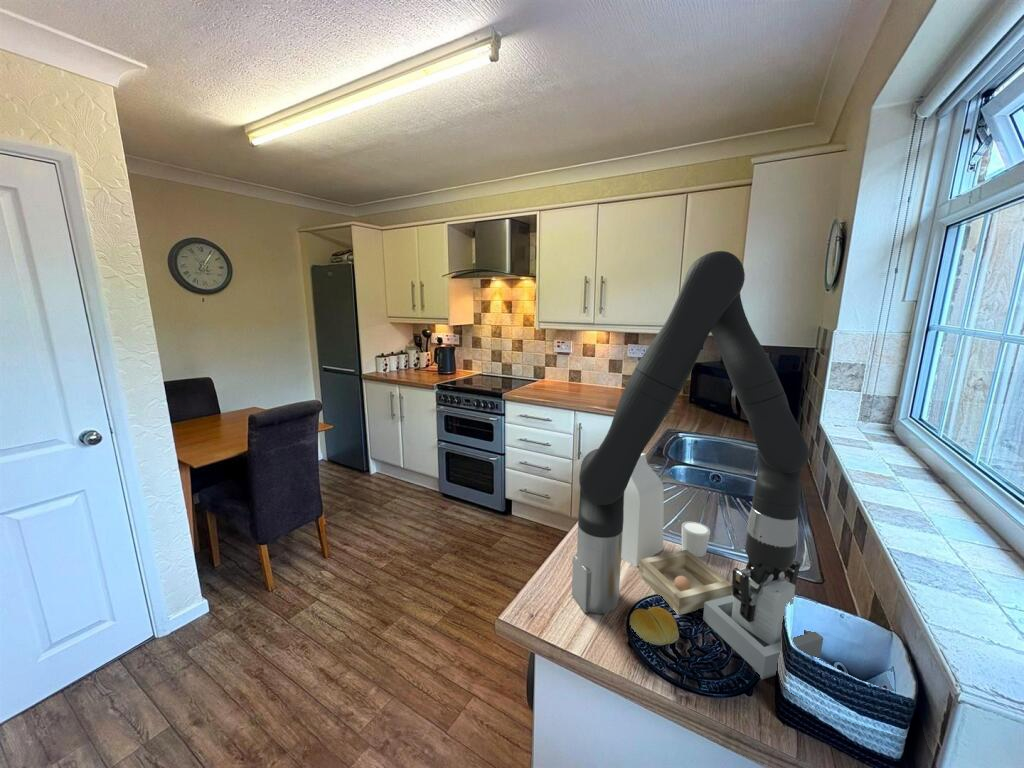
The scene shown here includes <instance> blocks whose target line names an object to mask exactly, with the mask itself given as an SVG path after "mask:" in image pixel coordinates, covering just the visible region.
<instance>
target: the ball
mask: <svg viewBox="0 0 1024 768" xmlns="http://www.w3.org/2000/svg"><path fill="white" fill-rule="evenodd" d="M674 585H675V587H676V588H677V589H679V590H680V591H685V590H689V589H690V588H691V584H690V581H689V580H688V579H687V578H686V577H684V576H678V577H676V578H675V580H674Z"/></svg>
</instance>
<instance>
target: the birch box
mask: <svg viewBox="0 0 1024 768" xmlns="http://www.w3.org/2000/svg"><path fill="white" fill-rule="evenodd" d="M637 572H638V576H639V577H640V578H641V579H642V581H644V582H645V583H646V584H647V586H649V588H651V589H652V591H653V592H655V594H657V596H659V595H660V596H662V597H663V599H664V600H665V601H666V602H667V603H668V604H669V606H670V607H671V608H672V609H673V610H674V611H675V612H676V613H675V612H674V611H673V610H672V609H671V608H670V607H669V606H668V607H669V608H670V609H671V610H672V611H673V612H674V613H675V614H676V615H677V616H681V615H686V614H688V613H692V611H693V612H697V611H699V610H698V609H700V608H703V607H704V603H705V602H707V601H711V600H715V599H719V598H722V597H726V596H730V595H732V583H731V582H730V581H728V580H727V579H725V578H724V577H723V576H722V575H720V574H719V573H718V572H716V571H715V570H714V569H712V568H711V567H710V566H709V565H707V564H706V563H705V562H704V561H702V560H701V559H700V558H699V557H696V556H694V555H693V554H692V553H691V552H689V551H688V550H679V551H673V552H670V553H665V554H659V555H654V556H652V557H649V558H644V559H640V560H639V566H638V571H637ZM678 576H684V577H686V578H687V579H688V580H689V581H690V584H691V588H690V589H689V590H685V591H680V590H679V589H677V588H676V587H675V585H674V580H675V578H676V577H678ZM660 596H659V597H660ZM663 599H662V600H663ZM664 600H663V601H664ZM665 601H664V602H665ZM696 610H697V611H696Z"/></svg>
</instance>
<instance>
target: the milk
mask: <svg viewBox="0 0 1024 768" xmlns="http://www.w3.org/2000/svg"><path fill="white" fill-rule="evenodd" d="M664 491H665V488H664V484H663V482H662V480H661V478H660V477H659V476H658V475H657V474H656V472H655V471H654V470H653V469H652V468H651V466H650V465H649V464H648V462H647V456H646V453H643V452H642V454H641V456H640V458H639V460H638V462H637V464H636V466H635V468H634V471H633V473H632V475H631V477H630V480H629V482H628V485H627V487H626V489H625V491H624V520H623V535H622V551H621V560H624V561H625V562H627V563H629V564H630V565H632V566H634V567H636V568H637V567H639V560H640V559H644V558H649V557H654V556H656V554H658V553H660V552H661V551H663V550H664V511H665V509H664V507H665V506H664V504H665V503H664V502H665V501H664V495H665V493H664Z"/></svg>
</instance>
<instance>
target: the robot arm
mask: <svg viewBox="0 0 1024 768" xmlns="http://www.w3.org/2000/svg"><path fill="white" fill-rule="evenodd" d="M745 277H746V275H745V268H744V266H743V263H742V262H741V260H740V258H738V256H736V255H735V254H733V253H732V252H729V251H723V250H716V251H712V252H708V253H706V254H703V256H700V257H699V258H697V259H696V260H695V261H693V263H692V264H691V265H690V266H689V268H688V270H687V272H686V275H685V278H684V281H683V283H682V286H681V288H680V291H679V293H678V296H677V298H676V300H675V303H674V305H673V307H672V309H671V311H670V313H669V315H668V318H667V319H666V321H665V323H664V324H663V326H662V327H661V329H659V331H658V333H657V334H656V336H655V337H654V339H652V341H651V343H650V344H649V345H648V347H647V349H646V350H645V352H644V353H643V354H642V356H641V358H640V360H639V361H638V363H637V364H636V365H635V368H634V370H633V371H632V373H631V375H630V378H628V381H627V382H626V384H625V387H624V389H623V391H622V393H621V396H620V398H619V401H618V402H617V403H618V404H617V406H616V410H615V411H614V416H613V418H612V421H611V424H610V427H609V429H608V431H607V434H606V435H605V437H604V439H603V441H602V442H601V443H600V445H599V447H598V448H595V449H592V450H591V451H589V452H588V453H587V454H586V455H585V456H584V458H583V460H582V462H581V464H580V469H579V477H578V480H579V481H578V483H579V488H580V489H579V500H578V501H579V503H578V515H577V517H578V518H577V519H578V520H577V541H576V543H577V544H576V545H577V546H576V548H577V549H576V554H574V555H573V556H572V576H571V577H572V580H571V596H573V598H574V600H575V602H577V604H578V606H579V608H580V609H581V610H582V612H584V613H585V614H586V613H591V614H592V613H593V614H598V615H605V613H609V612H611V611H614V609H616V608H617V607H618V605H619V601H620V599H619V598H620V583H621V582H620V581H621V569H622V568H621V564H622V559H621V551H622V535H623V520H624V491H625V489H626V487H627V485H628V482H629V480H630V477H631V475H632V473H633V471H634V468H635V466H636V464H637V462H638V460H639V458H640V456H641V454H642V453H643V452H644V450H645V448H646V447H647V445H648V444H649V442H650V441H651V439H652V438H653V437H654V436H655V434H656V432H657V431H658V429H659V427H660V426H661V424H662V423H663V421H664V420H665V418H666V417H667V415H668V413H669V412H670V410H671V409H672V407H673V405H674V404H675V403H676V400H677V399H678V397H679V396H680V394H681V392H682V390H683V388H684V387H685V385H686V382H687V381H688V379H689V377H690V375H691V373H692V370H693V368H694V367H695V365H696V362H697V360H698V357H699V355H700V353H701V351H702V348H703V345H704V344H705V342H706V340H707V339H708V336H709V334H710V333H711V336H712V338H713V340H714V342H715V344H716V347H717V348H718V352H719V353H720V356H721V359H722V361H723V364H724V366H725V370H726V373H727V375H728V378H729V379H730V383H731V384H732V388H733V390H734V393H735V395H736V397H737V399H738V402H739V405H740V407H741V409H742V410H743V412H744V415H745V417H746V419H747V421H748V424H749V426H750V427H749V428H750V430H751V433H752V436H753V439H754V442H755V445H756V448H757V467H756V470H757V471H756V479H755V482H754V483H755V484H754V488H753V493H752V500H751V501H752V502H751V507H750V512H749V515H748V520H747V528H746V529H747V530H746V538H745V544H744V550H745V553H746V555H747V558H748V561H747V564H746V566H745V567H746V568H745V569H742V568H741V569H742V570H740V569H739V568H738V567H734V568H733V569H732V580H731V581H732V583H731V584H732V593H731V595H733V596H734V597H735V598H737V599H738V600H739V601H740V602H741V606H740V607H741V608H740V615H741V616H742V617H743V618H744V619H745V620H747V621H748V622H753V620H754V612H755V603H756V601H757V599H758V597H759V596H761V595H762V594H763V588H764V587H765V586H768V584H769V583H771V581H775V580H778V581H779V582H782V581H785V580H787V578H788V579H789V580H788V582H790V583H792V584H794V585H795V586H796V584H797V579H798V576H799V572H800V568H801V563H799V562H798V561H797V560H795V554H796V548H797V547H796V546H797V539H798V532H799V521H798V520H799V512H800V505H801V499H802V498H801V494H802V493H801V485H800V477H801V470H802V469H803V468H804V467H805V466H806V465H807V463H808V462H809V458H810V448H809V446H808V443H807V442H806V438H805V437H804V435H803V434H802V431H801V429H800V427H799V425H798V423H797V421H796V419H795V417H794V415H793V413H792V411H791V408H790V405H789V401H788V398H787V394H786V392H785V389H784V387H783V385H782V383H781V381H780V378H779V375H778V373H777V371H776V369H775V366H774V365H773V363H772V361H771V359H770V357H769V356H768V354H767V352H766V351H765V348H763V346H762V344H761V342H760V341H759V340H758V337H756V334H755V332H754V331H753V329H752V326H751V324H750V322H749V321H748V318H747V315H746V312H745V310H744V306H743V301H742V299H741V291H742V289H743V287H744V283H745V280H746V279H745ZM749 577H750V578H751V579H752V580H753V581H754V582H756V583H757V584H760V585H759V587H758V588H755V587H754V586H752V585H751V584H749V583H750V582H751V581H750V580H749ZM749 589H750V590H752V591H753V593H752V595H751V597H750V596H749ZM739 591H740V592H739Z"/></svg>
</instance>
